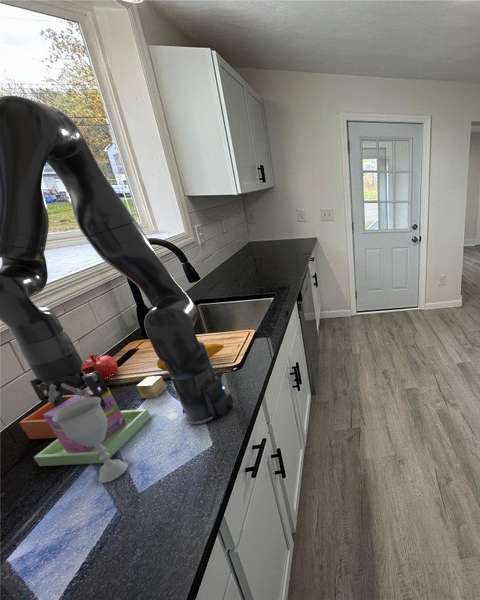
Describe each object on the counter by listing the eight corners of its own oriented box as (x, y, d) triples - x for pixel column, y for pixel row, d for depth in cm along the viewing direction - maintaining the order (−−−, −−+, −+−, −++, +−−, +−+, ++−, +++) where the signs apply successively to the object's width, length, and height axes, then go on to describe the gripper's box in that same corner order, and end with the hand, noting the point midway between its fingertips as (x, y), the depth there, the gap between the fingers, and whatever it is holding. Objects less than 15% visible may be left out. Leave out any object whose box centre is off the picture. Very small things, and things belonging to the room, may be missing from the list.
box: (84, 455, 74) (60, 416, 69) (65, 452, 75) (41, 414, 70) (127, 423, 83) (109, 386, 79) (110, 421, 84) (91, 385, 80)
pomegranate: (112, 366, 112) (101, 343, 108) (127, 372, 107) (116, 349, 104) (77, 382, 104) (64, 358, 100) (91, 389, 99) (77, 365, 96)
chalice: (98, 492, 65) (57, 426, 59) (87, 478, 69) (47, 414, 62) (139, 466, 71) (106, 403, 64) (127, 454, 74) (94, 392, 68)
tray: (151, 417, 86) (147, 409, 85) (105, 462, 72) (100, 453, 71) (95, 420, 86) (90, 412, 85) (39, 466, 73) (33, 457, 72)
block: (166, 387, 98) (161, 375, 96) (156, 397, 94) (151, 385, 92) (152, 388, 98) (147, 376, 96) (141, 398, 94) (136, 386, 92)
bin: (103, 409, 90) (94, 393, 88) (68, 437, 81) (58, 420, 79) (68, 411, 90) (59, 395, 88) (29, 439, 81) (18, 422, 79)
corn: (153, 349, 105) (219, 331, 115) (161, 367, 109) (225, 348, 119) (152, 360, 100) (222, 340, 110) (160, 379, 103) (227, 358, 113)
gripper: (0, 365, 66) (38, 424, 72) (66, 361, 66) (99, 420, 72) (38, 347, 73) (70, 402, 79) (97, 343, 73) (125, 399, 79)
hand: (84, 411), depth 76 cm, fingers open, 8 cm apart
